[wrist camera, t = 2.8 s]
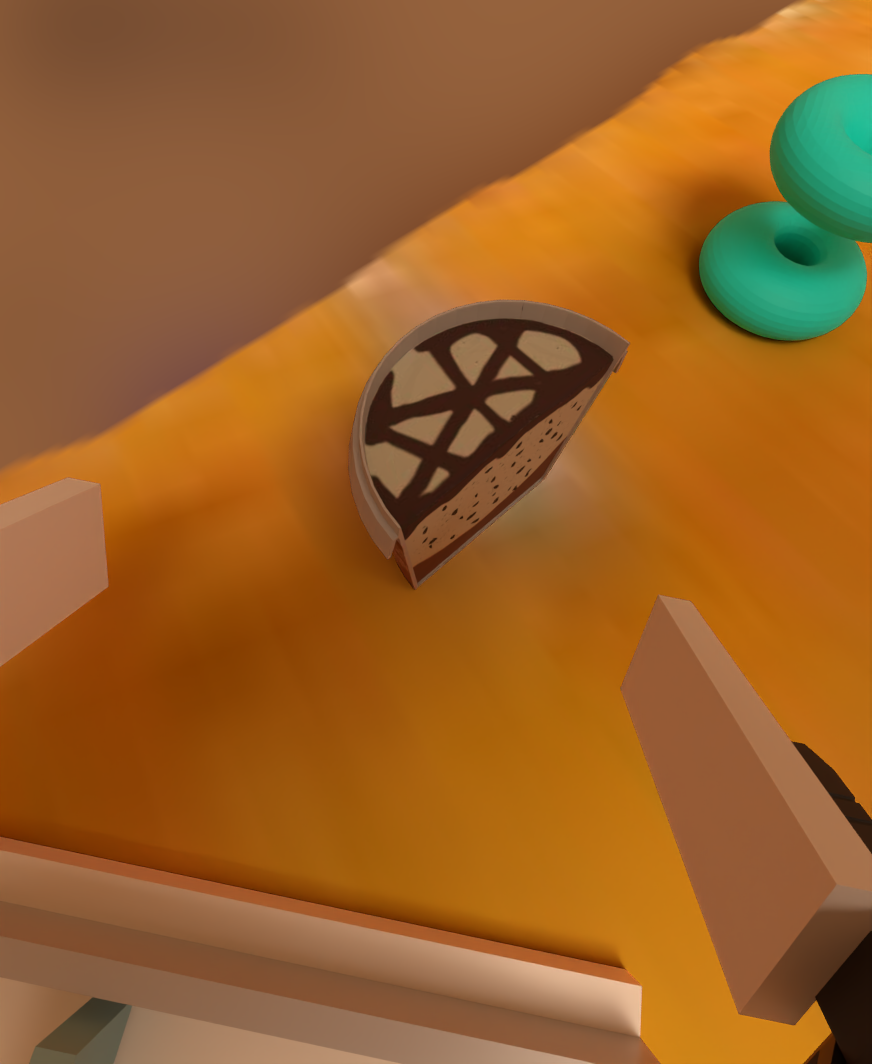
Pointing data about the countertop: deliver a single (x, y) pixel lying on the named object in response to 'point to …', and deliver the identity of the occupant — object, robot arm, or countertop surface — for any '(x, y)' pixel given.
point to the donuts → (802, 222)
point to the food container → (470, 422)
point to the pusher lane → (284, 977)
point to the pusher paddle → (85, 1035)
